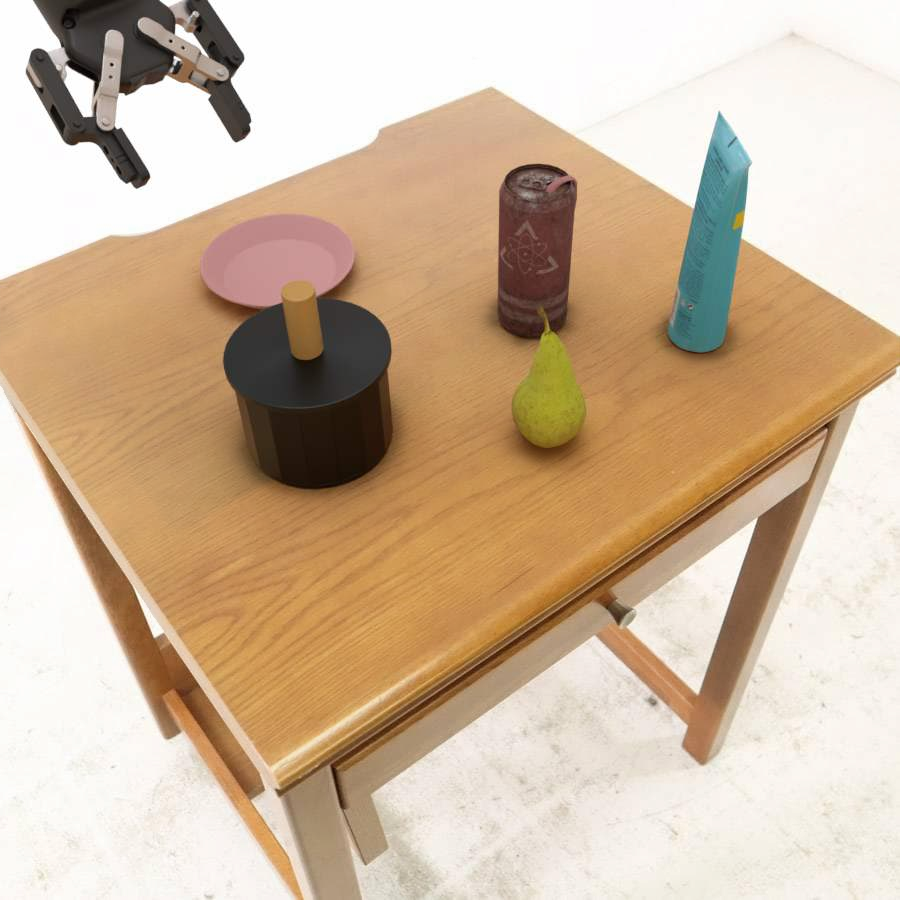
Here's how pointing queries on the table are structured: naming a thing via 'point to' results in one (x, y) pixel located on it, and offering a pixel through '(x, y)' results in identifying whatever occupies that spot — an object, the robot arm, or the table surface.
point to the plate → (276, 258)
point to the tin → (320, 440)
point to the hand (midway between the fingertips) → (195, 159)
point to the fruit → (549, 395)
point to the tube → (712, 245)
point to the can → (535, 247)
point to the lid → (307, 353)
